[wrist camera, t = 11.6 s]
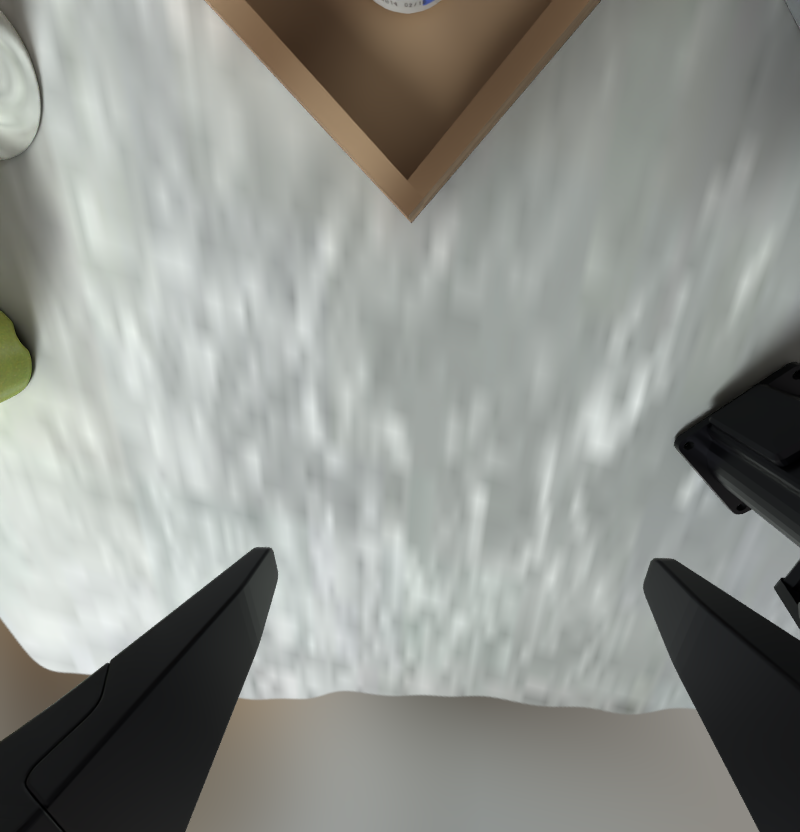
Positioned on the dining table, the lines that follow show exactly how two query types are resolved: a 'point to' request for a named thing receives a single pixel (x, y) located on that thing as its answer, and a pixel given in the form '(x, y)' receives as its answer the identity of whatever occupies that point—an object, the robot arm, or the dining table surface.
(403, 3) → the pill bottle
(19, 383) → the plant pot
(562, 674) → the dining table surface
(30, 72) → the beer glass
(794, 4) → the bin
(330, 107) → the walnut bin
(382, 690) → the dining table surface
